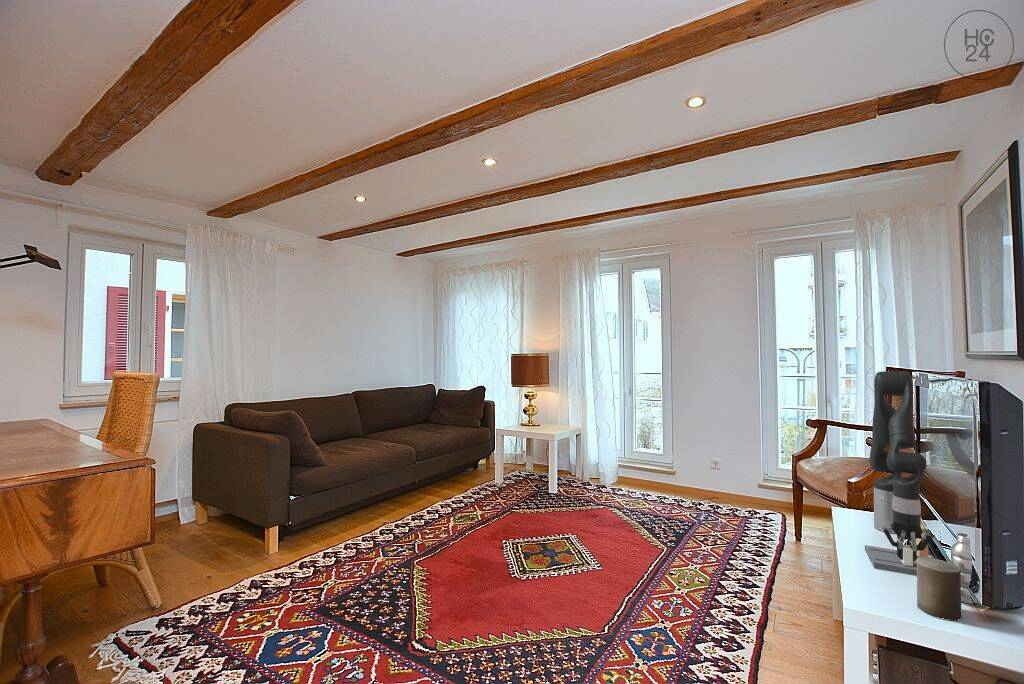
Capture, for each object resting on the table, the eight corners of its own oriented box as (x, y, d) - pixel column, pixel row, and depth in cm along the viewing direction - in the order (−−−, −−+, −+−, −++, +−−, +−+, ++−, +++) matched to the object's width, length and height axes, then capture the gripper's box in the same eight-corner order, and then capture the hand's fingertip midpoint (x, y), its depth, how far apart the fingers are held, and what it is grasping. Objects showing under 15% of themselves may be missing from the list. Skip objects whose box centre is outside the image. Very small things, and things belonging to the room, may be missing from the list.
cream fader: (903, 564, 161) (903, 548, 161) (900, 560, 164) (900, 544, 164) (912, 566, 159) (912, 549, 159) (909, 561, 163) (909, 545, 163)
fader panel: (874, 568, 163) (874, 562, 163) (864, 550, 177) (864, 544, 177) (949, 581, 154) (949, 575, 154) (933, 561, 168) (933, 555, 168)
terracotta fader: (919, 558, 166) (919, 542, 166) (915, 553, 169) (915, 538, 169) (928, 559, 165) (928, 543, 165) (924, 554, 168) (924, 539, 168)
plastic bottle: (987, 608, 138) (986, 540, 139) (960, 605, 140) (960, 539, 140) (970, 596, 145) (969, 532, 145) (945, 594, 146) (944, 530, 146)
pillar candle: (965, 625, 130) (965, 571, 130) (919, 613, 136) (919, 561, 136) (956, 609, 138) (956, 558, 138) (913, 598, 144) (913, 550, 144)
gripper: (928, 509, 162) (929, 559, 162) (878, 503, 168) (878, 551, 168) (936, 516, 155) (936, 569, 155) (883, 510, 162) (883, 560, 162)
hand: (906, 559), depth 162 cm, fingers closed on cream fader, 2 cm apart
